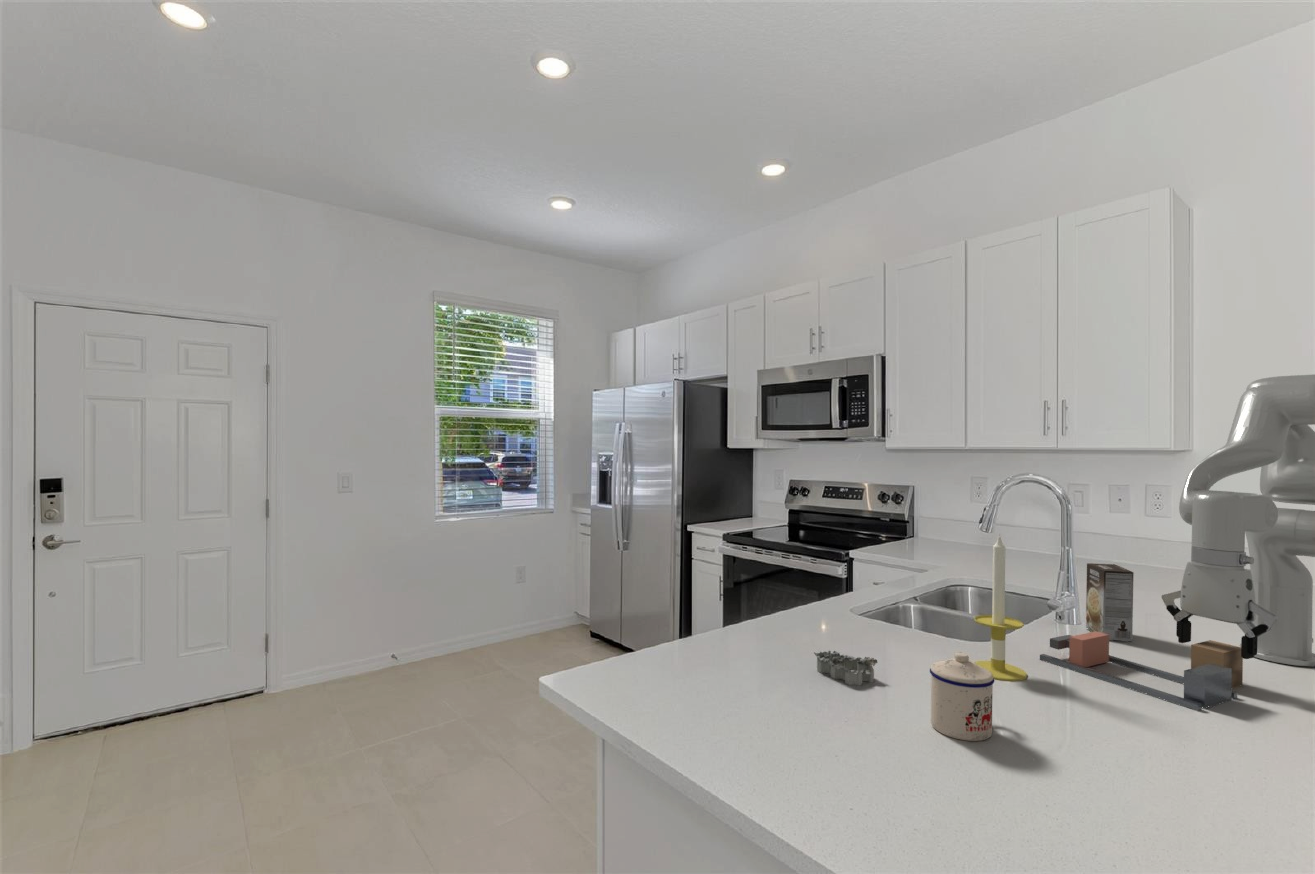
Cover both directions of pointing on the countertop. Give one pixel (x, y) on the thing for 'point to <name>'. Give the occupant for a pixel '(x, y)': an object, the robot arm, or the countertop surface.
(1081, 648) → the block
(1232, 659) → the block
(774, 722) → the countertop surface
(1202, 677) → the vise bed
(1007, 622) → the candle
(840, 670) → the egg carton
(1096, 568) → the coffee box
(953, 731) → the teacup with lid
